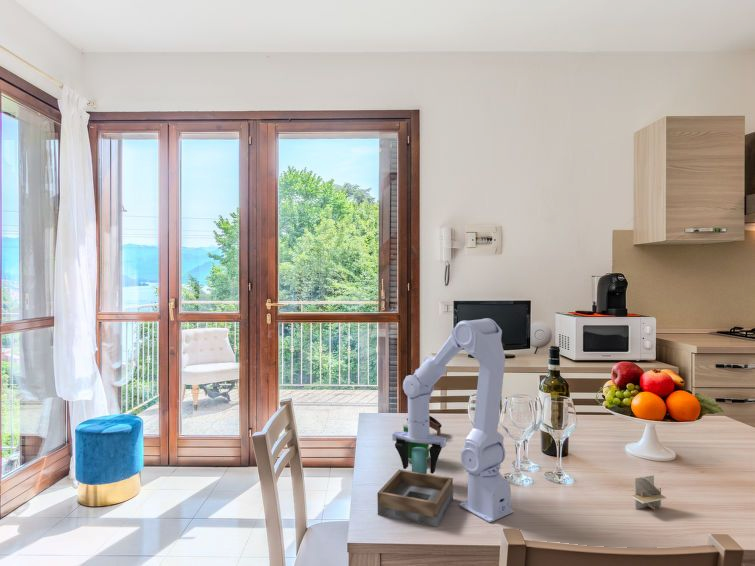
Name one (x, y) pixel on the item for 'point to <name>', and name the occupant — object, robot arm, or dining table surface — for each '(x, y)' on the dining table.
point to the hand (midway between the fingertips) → (419, 469)
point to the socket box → (416, 497)
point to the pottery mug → (435, 425)
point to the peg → (419, 460)
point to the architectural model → (647, 493)
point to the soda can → (412, 444)
